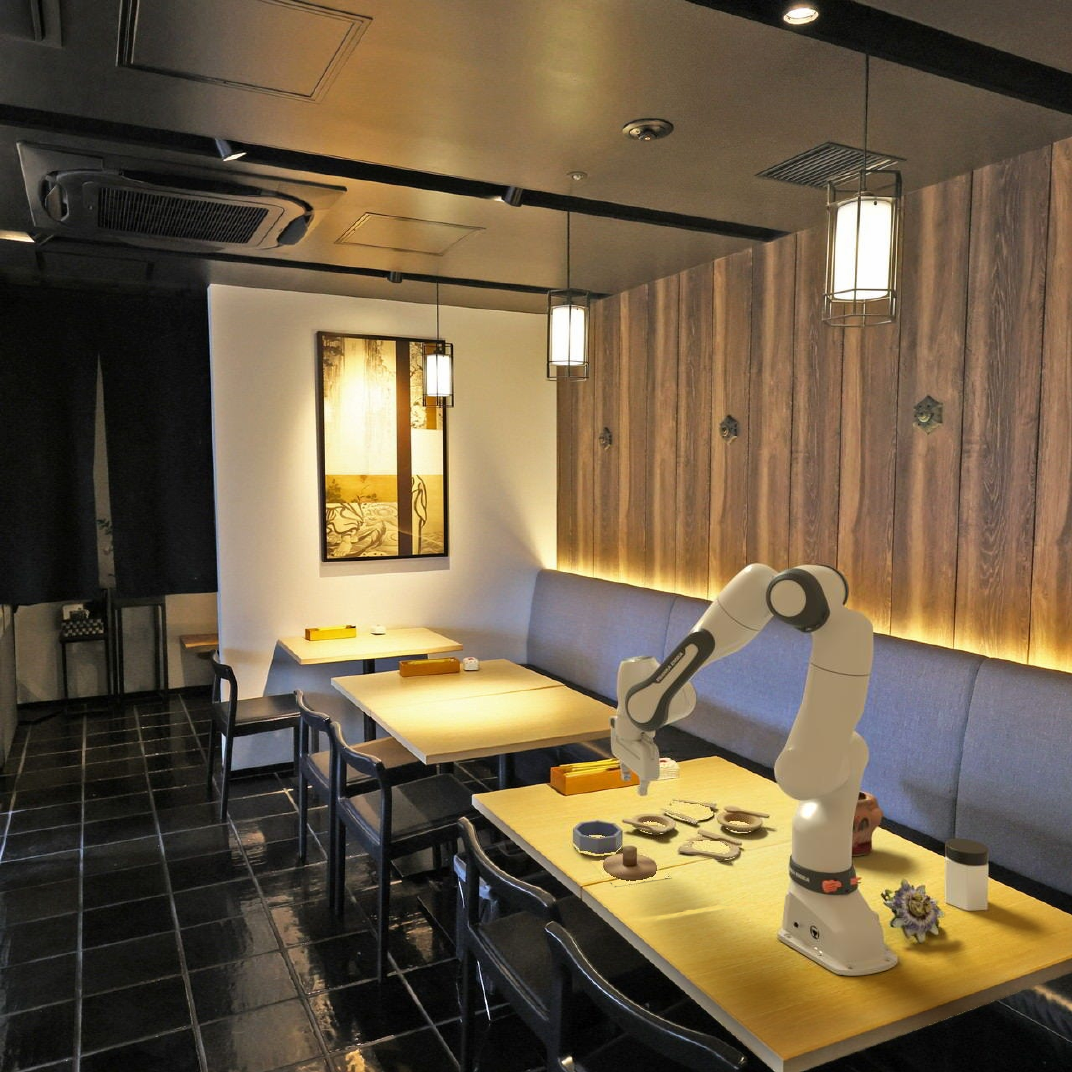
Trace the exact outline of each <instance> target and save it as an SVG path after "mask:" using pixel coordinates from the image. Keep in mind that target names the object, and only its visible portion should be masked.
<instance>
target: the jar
mask: <svg viewBox="0 0 1072 1072" xmlns="http://www.w3.org/2000/svg"><path fill="white" fill-rule="evenodd" d="M944 843H945V845H944V851H945V853H944V854H945V865H944V866H945V867H944V869H945V870H944V901H945V904H948V905H951V906H952V907H953V906H954V907H956V908H958V909H960V910H963V911H966V912H970V911H973V912H974V911H988V902H989V901H988V898H989V859H990V858H989V855H990V854H989V852H990V851H989V848H988V847H987V845H985V844H984V843H982V842H979V841H976V840H971V839H967V838H950V839H947V840H946V841H945V842H944Z"/></svg>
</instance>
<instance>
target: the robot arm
mask: <svg viewBox="0 0 1072 1072" xmlns="http://www.w3.org/2000/svg"><path fill="white" fill-rule="evenodd" d="M849 596H850V588H849V583H848V580H847V579H846V577H845V576H844V574H843V573H842V572H841V571H840V570H838V569H837V568H835V567H832V566H830V565H828V564H801V565H797V566H795V567H791V568H787V569H785V570H782V571H780V572H778V571H776V570H775V569H774V568H772V567H771V566H769V565H766V564H763V563H758V562H757V563H751V564H748V565H746V567H744V568H742V570H741V571H739V572H738V573H737V574H736V575H735V576H734V577H733V578H732V579H731V580H730V581H729V582H728V583H727V584H726V586H724V587H723V589H722V590H721V591H720V592H719V594H718V595H717V596H716V598H714V600H713V601H712V602H711V604H710V606H708V608H707V609H706V610H705V612H704V613H703V615H702V616H701V617H700V619H699V620H698V621H697V622H696V624H695V625H694V626H693V627H692V629H691V630H690V631H689V633H687V635H686V636H685V637H684V638H683V639H682V641H681V642H680V643H679V644H678V645H677V646H676V647H675V648H674V650H672V652H671V653H670V654H669V655H668V656H667V657H666V658H665V660H663V662H662V663H661V664H660V663H659V662H658V661H657V660H656V658H655V657H653V656H651V655H647V654H645V655H636V656H629V657H626V658H624V659H623V660H622V661H621V662H620V664H619V667H618V672H617V681H616V696H617V697H616V698H617V703H618V704H617V708H616V712H615V715H614V716H613V715H612V716H610V717H609V722H608V723H609V726H610V727H611V728H610V748H611V749H610V750H611V753H612V755H613V756H614V758H616V759H618V760H619V762H618V763H619V767H620V772H621V775H620V776H621V780H623V782H630V781H631V780H632V773H631V771H632V772H633V773H634V774H635V775H637V776H638V780H639V783H638V784H639V785H637V788H636V789H637V790H636V791H637V792H636V793H637V794H638V795H639V796H641V797H644V796H645V797H646V796H647V795H648V788H649V785H650V784H651V782H655V781H658V780H659V778H660V776H661V773H660V772H661V771H660V770H661V765H660V763H661V762H660V752H659V747H658V746H657V744H656V743H655V742H654V739H653V738H654V737H655V736H656V731H657V730H659V729H660V728H662V727H664V726H666V725H669V724H671V723H673V722H676V721H678V720H681V719H684V718H685V717H687V716H689V715H691V714H692V713H693V712H694V710H695V709H696V707H697V703H698V700H697V699H698V695H697V691H696V688H695V687H694V685H693V682H691V679H692V678H693V677H694V676H695V675H696V674H697V673H698V672H699V671H700V670H702V669H703V668H704V667H706V666H707V665H709V664H712V663H714V662H715V661H718V660H720V659H723V658H725V657H726V656H727V657H728V656H729V655H732V654H734V653H737V652H739V651H740V650H742V649H743V648H744V647H746V646H747V645H748V644H750V642H751V641H753V640H754V639H755V638H756V637H757V635H759V633H760V632H761V631H762V630H763V629H764V628H765V626H766V625H767V624H768V622H769V621H770V620H771V619H772V618H773V617H775V618H777V620H779V621H781V622H782V623H785V624H786V625H789V626H791V627H793V628H795V629H796V630H798V631H799V632H801V633H803V634H811V636H812V647H811V652H810V658H809V663H808V669H807V674H806V681H805V687H804V690H803V691H804V692H803V697H802V701H801V703H800V706H799V710H798V712H797V714H796V717H795V719H794V722H793V725H792V726H791V727H792V728H791V729H790V732H789V735H788V738H787V740H786V743H785V745H784V747H783V749H782V751H781V752H780V754H779V755H778V757H777V758H776V760H775V763H774V769H773V770H774V778H775V782H776V784H777V786H778V787H779V788H780V790H781V791H782V792H783V793H784V794H785V795H787V796H788V797H790V799H793V800H797V801H798V804H797V807H796V809H795V811H794V813H793V816H792V823H791V824H792V825H791V826H792V827H791V828H792V829H791V831H792V832H791V854H790V856H789V861H788V875H789V878H790V882H789V884H788V888H787V891H786V893H785V896H784V905H783V914H782V922H781V928H779V930H778V931H777V936H776V938H777V939H778V940H779V941H781V942H783V943H784V944H785V945H786V946H789V947H791V948H792V949H794V950H796V951H797V952H798V953H800V954H802V955H804V956H805V957H807V958H808V959H811V960H812V961H814V962H815V963H817V964H819V965H820V966H822V967H824V968H825V969H827V970H828V971H830V972H832V973H834V974H835V975H843V976H864V975H871V974H876V973H880V972H885V971H887V970H890V969H892V968H893V967H895V966H896V965H897V964H898V963H899V957H898V955H897V954H896V953H895V952H894V951H893V949H891V948H890V946H888V945H887V944H886V943H885V940H884V930H883V926H882V923H881V922H880V915H879V913H878V911H876V910H872V909H871V907H870V905H869V904H868V902H867V900H866V899H865V897H864V896H863V894H862V893H861V892H860V889H859V884H862V882H861V881H860V880H862V877H857V872H856V869H855V866H854V863H853V862H852V861H853V860H852V857H853V856H852V830H853V820H854V814H855V810H856V805H857V801H858V796H859V791H861V790H860V789H861V785H862V779H863V775H864V773H865V770H866V767H867V765H868V762H869V760H870V752H869V748H868V744H867V742H866V741H865V739H864V738H863V736H862V735H860V734H859V733H858V732H857V731H856V730H855V729H856V727H857V726H858V723H859V722H860V720H861V718H862V716H863V713H864V711H865V705H866V701H867V700H866V699H867V695H868V689H869V683H870V678H871V672H872V667H873V666H872V665H873V658H874V625H873V624H872V622H871V619H869V618H868V617H867V615H865V614H863V613H862V612H860V611H858V610H856V609H851V608H848V607H847V606H846V603H847V602H848V600H849ZM630 770H631V771H630Z"/></svg>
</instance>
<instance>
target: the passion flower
mask: <svg viewBox="0 0 1072 1072" xmlns="http://www.w3.org/2000/svg"><path fill="white" fill-rule="evenodd" d="M893 893H894V895H893V896H892V897H891V894H893ZM926 894H928V895H926ZM880 897H881V898H882V899H883V900H884V901H883V902H882V903H883V905H884V906H886V907H887V908H889V909H890V910H891V913H892V914H893V916H894V917H892V918H891V920H890V921H889V926H890V927H891V928H893V929H897V928H900V927H902V931H903V934H904V936H905V937H906V938H907V939H908V940H909V939H910V938H911V937H913V938H915V939H916V941H917V943H919V944H922V943H924V941H925V937H926V933H927V932H930V933H931V934H933V935H934V936H938V935H939V926H940V921H939V919H940V918H944V917H946V913H945V911H943V910H942V909H941V908H940V907H939V906H938V903H939V900H938V899H937V898H934V897H931V896H930V895H929V893H927V892H926V885H925V884H921V885H919V886H917V887H916V888H915V885H913V884H910V883H909V882H908V880H907V879H906V878H904V877H902V879H901V880H900V887H899V888H898V889H896V890H891V889H884V892H883V891H882V892H881V894H880Z"/></svg>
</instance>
